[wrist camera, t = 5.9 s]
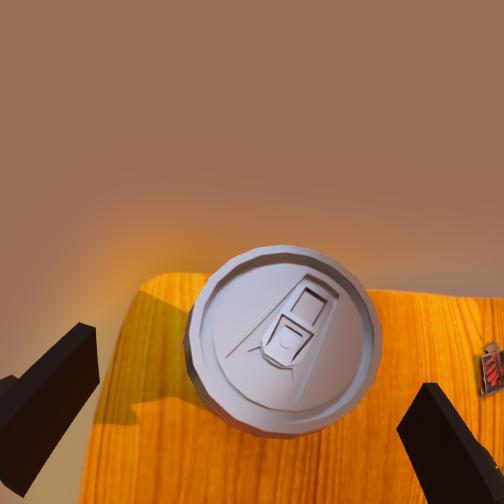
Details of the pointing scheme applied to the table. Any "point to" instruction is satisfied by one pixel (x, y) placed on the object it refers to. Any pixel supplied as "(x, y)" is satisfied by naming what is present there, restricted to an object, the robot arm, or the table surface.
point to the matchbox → (493, 369)
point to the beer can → (282, 342)
